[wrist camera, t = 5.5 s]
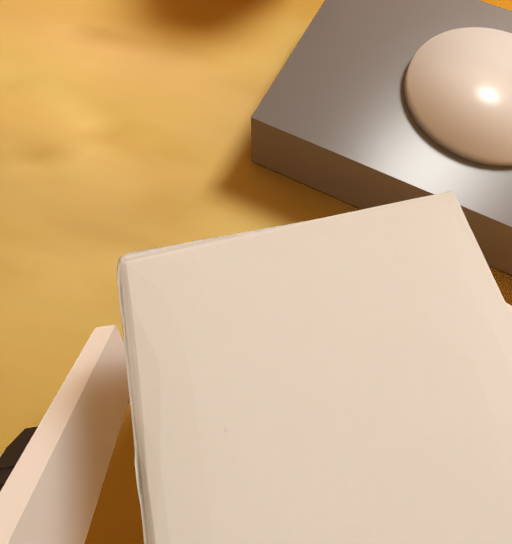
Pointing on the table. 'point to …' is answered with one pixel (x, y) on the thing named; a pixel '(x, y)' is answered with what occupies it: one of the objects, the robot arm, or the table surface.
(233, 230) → the table surface
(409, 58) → the grey base plate
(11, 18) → the table surface
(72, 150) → the table surface
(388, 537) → the supplement box
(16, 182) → the table surface
